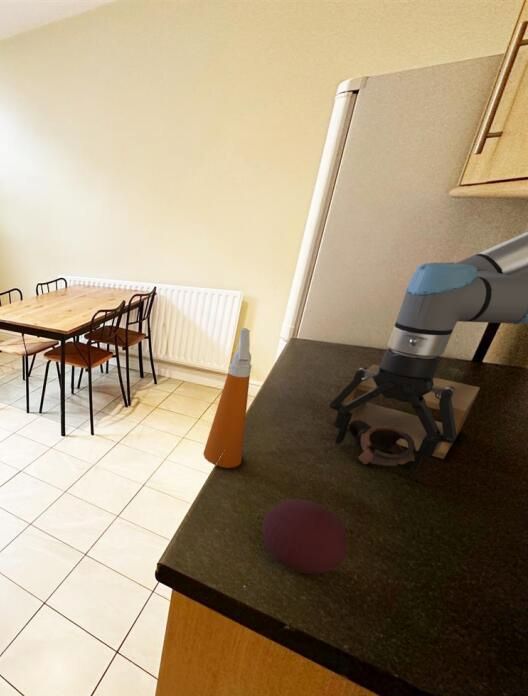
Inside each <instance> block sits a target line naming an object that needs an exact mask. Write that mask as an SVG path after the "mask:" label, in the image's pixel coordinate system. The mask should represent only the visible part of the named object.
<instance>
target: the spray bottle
mask: <svg viewBox="0 0 528 696" xmlns="http://www.w3.org/2000/svg"><path fill="white" fill-rule="evenodd" d="M250 331H251V330H249V329H248V328H246V327H244V328H241V329H240V331H239V337H238V348H237V350H236V351H235V352H234V355H233V356H232V361H230V362H229V367H228V373H227V375H226V379H225V382H224V385H223V388H222V392H221V394H220V398H219V402H218V404H217V408H216V410H215V415H214V417H213V420H212V424H211V427H210V430H209V434H208V437H207V440H206V444H205V447H204V449H203V452H202V454H203V457H204V459H205V460H206V461H207V462H208V463H210V464H212V465H214V466H217V467H221V468H226V469H230V468H231V469H232V468H236V467H238V466H240V465H241V462H242V459H243V448H244V437H245V430H246V429H245V428H246V417H247V407H248V399H249V398H248V397H249V388H250V387H249V386H250V377H251V371H252V364H251V361H252V354H251V352H250V347H251V345H250ZM224 450H225V451H224ZM222 453H223V455H222ZM221 455H222V456H221ZM220 456H221V458H220ZM219 458H220V460H219ZM218 460H219V462H218ZM217 462H218V464H217V465H216V463H217Z"/></svg>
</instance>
